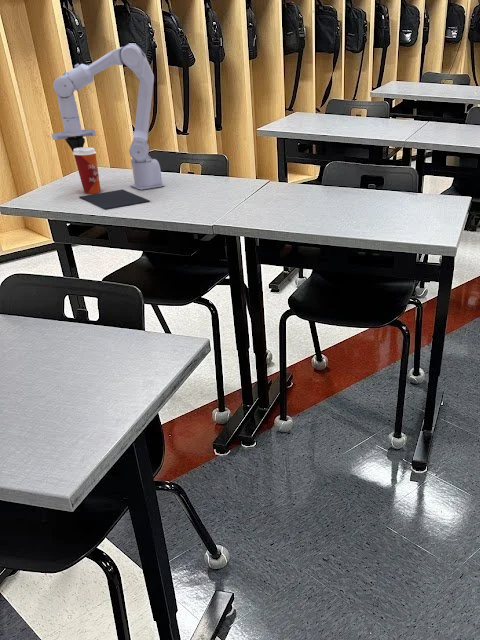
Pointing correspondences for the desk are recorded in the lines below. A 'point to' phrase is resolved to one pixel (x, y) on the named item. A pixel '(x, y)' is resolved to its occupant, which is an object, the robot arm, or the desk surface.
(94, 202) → the desk mat
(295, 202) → the desk surface
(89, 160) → the paper cup
